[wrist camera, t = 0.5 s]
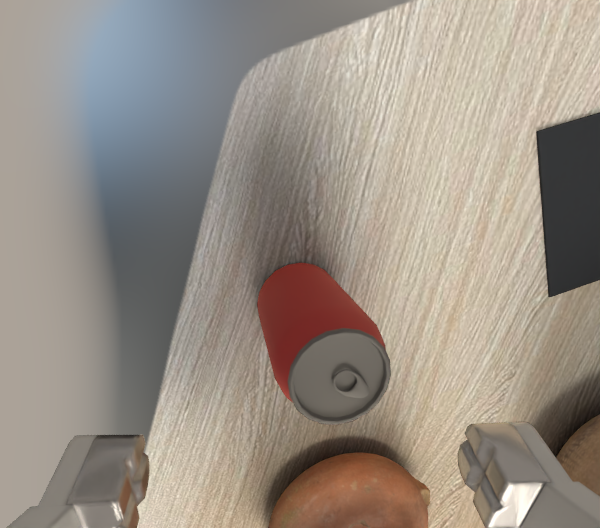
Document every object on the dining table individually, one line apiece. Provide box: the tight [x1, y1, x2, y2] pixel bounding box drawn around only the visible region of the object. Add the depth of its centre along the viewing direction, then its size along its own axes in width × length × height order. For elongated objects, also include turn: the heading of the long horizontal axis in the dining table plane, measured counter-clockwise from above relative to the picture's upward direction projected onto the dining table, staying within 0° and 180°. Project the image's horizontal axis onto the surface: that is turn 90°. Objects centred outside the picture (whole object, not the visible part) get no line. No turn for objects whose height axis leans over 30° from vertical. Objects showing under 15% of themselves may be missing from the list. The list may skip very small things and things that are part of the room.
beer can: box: [257, 263, 391, 425], centre depth 26 cm, size 7×7×12 cm
